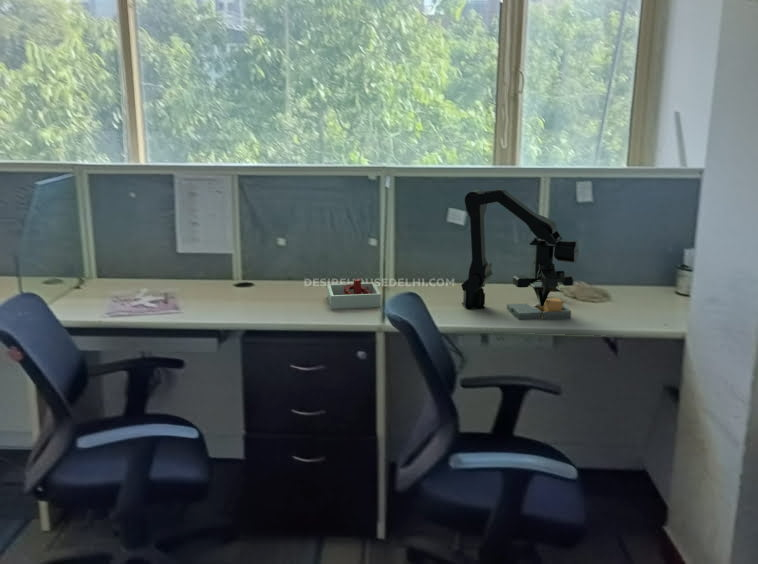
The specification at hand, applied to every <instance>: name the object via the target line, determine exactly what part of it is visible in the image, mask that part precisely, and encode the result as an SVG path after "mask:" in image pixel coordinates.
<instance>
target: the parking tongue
mask: <svg viewBox="0 0 758 564" xmlns="http://www.w3.org/2000/svg"><path fill="white" fill-rule="evenodd" d="M531 307H532V306H530V305H529V304H528V303H511V304H510V303H509V304H508V303H507V304H506V310H507V311H509V312H510V313H511V314H513V308H531Z"/></svg>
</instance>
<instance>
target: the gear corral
mask: <svg viewBox="0 0 758 564" xmlns="http://www.w3.org/2000/svg"><path fill="white" fill-rule="evenodd" d="M347 284H348V285H349V284H350V283H335V284H334V283H332V284H331V283H329V284H327V285H326V286H327V287H326V289H327V299H328V302H329V303H328V304H329V306H330V310H337V309H341V310H342V309H359V308H360V309H361V308H362V309H364V308H365V309H366V308H381V307H382V306H381V304H382V303H381V301H382V300H381V297H382V296H381V292H380V291H379V289H378V287H377V285H376V283H375V282H361V286H362V287H363V288H365V287H366V289H367V290H368V291H370V293H372V294H364V293H363V292H361V294H354V295H347V294H345V293H344V287H345V286H346V285H347ZM352 284H354V282H353V283H352ZM367 287H368V288H367ZM350 291H351V293H354V289H350Z"/></svg>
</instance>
